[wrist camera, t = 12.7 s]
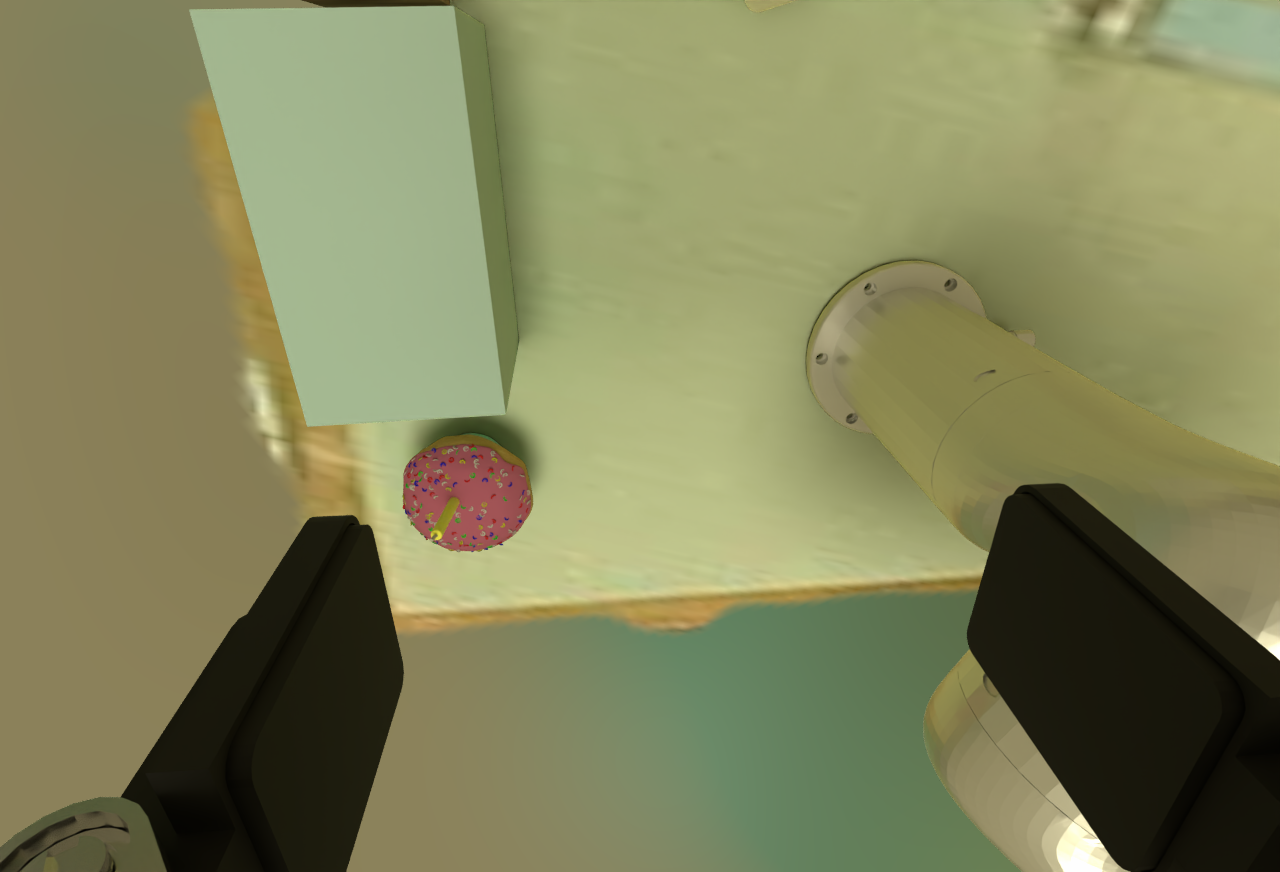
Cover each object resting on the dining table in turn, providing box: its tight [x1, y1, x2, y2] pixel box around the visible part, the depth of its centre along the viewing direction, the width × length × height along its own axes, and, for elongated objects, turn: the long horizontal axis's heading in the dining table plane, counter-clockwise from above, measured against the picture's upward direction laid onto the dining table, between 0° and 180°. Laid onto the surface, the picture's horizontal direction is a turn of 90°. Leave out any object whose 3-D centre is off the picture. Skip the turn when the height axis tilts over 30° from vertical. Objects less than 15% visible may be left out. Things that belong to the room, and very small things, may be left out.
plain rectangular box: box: [189, 6, 519, 427], centre depth 35 cm, size 10×18×11 cm, turn 1°
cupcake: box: [403, 433, 533, 552], centre depth 44 cm, size 9×8×12 cm
